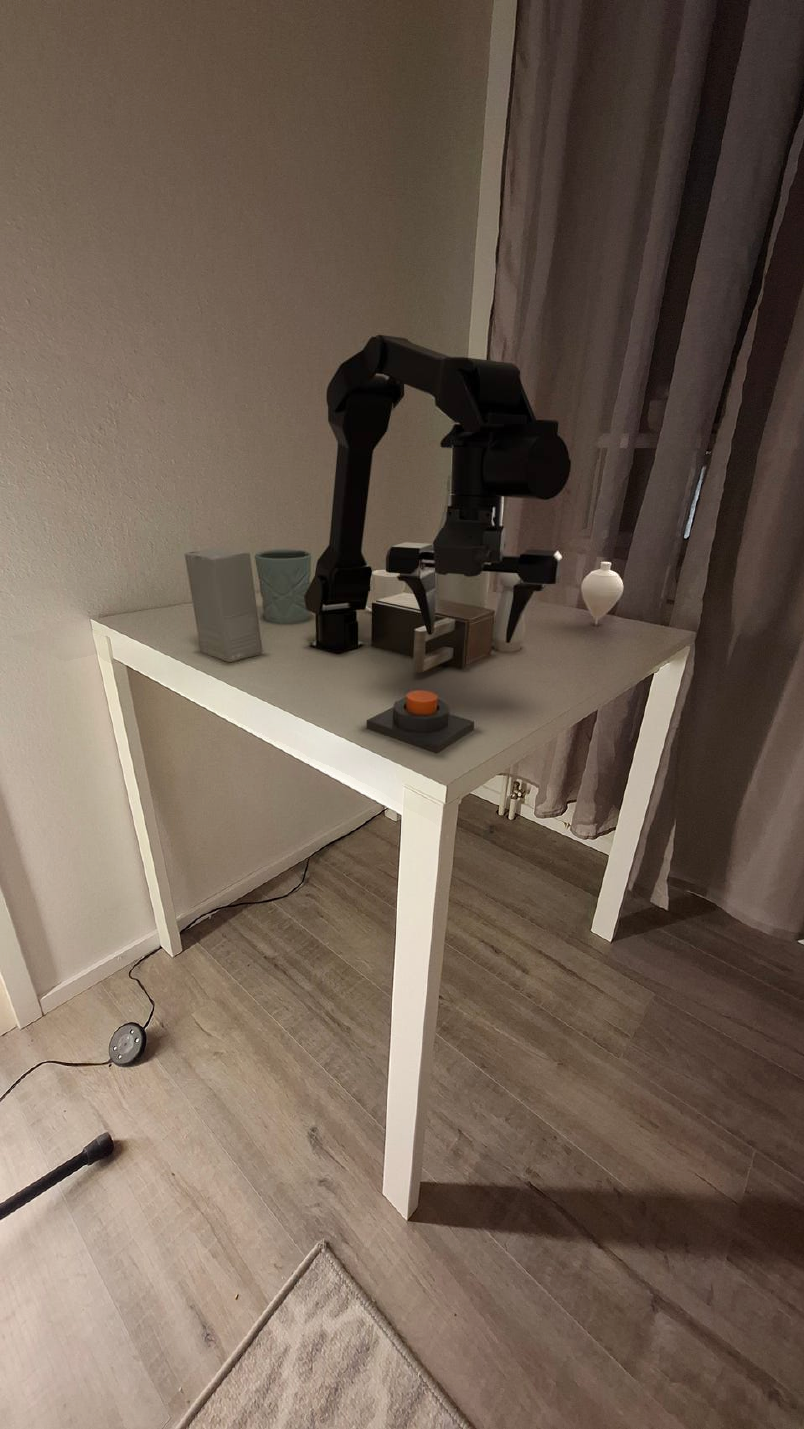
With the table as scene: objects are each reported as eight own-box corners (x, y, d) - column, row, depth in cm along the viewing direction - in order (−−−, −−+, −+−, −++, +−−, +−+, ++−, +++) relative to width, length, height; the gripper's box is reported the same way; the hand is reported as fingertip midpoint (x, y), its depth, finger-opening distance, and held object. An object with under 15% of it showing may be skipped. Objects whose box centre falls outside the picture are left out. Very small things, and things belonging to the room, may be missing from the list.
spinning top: (584, 617, 124) (593, 557, 119) (621, 624, 120) (633, 562, 115) (569, 625, 119) (579, 562, 114) (608, 632, 114) (620, 567, 110)
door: (429, 685, 86) (432, 634, 83) (335, 658, 96) (335, 611, 93) (464, 668, 93) (468, 620, 90) (374, 644, 103) (374, 600, 100)
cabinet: (465, 668, 94) (469, 619, 91) (375, 645, 103) (375, 600, 100) (490, 656, 100) (495, 609, 96) (403, 634, 109) (404, 592, 106)
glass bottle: (468, 611, 126) (479, 463, 115) (494, 624, 118) (509, 466, 106) (424, 614, 122) (431, 462, 111) (448, 628, 114) (459, 465, 102)
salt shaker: (523, 656, 100) (532, 575, 95) (487, 652, 101) (495, 573, 96) (523, 645, 105) (532, 569, 100) (490, 642, 106) (497, 566, 101)
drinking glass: (324, 618, 117) (322, 554, 112) (281, 628, 110) (278, 560, 105) (289, 608, 123) (287, 547, 118) (247, 617, 116) (243, 552, 111)
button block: (366, 729, 73) (366, 706, 71) (405, 708, 79) (406, 687, 77) (437, 754, 67) (438, 729, 66) (473, 730, 73) (475, 707, 72)
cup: (404, 619, 119) (405, 577, 115) (352, 616, 119) (352, 574, 116) (406, 610, 125) (407, 570, 122) (357, 607, 125) (357, 567, 122)
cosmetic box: (263, 655, 96) (257, 552, 90) (223, 665, 91) (213, 557, 85) (233, 643, 101) (225, 544, 95) (193, 652, 96) (182, 549, 90)
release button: (399, 710, 72) (400, 696, 71) (417, 701, 74) (418, 687, 74) (425, 718, 70) (426, 704, 69) (442, 709, 72) (443, 695, 72)
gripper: (366, 495, 61) (367, 647, 67) (558, 501, 55) (540, 667, 61) (403, 491, 71) (401, 624, 77) (569, 496, 65) (553, 639, 71)
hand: (468, 638), depth 71 cm, fingers open, 9 cm apart
